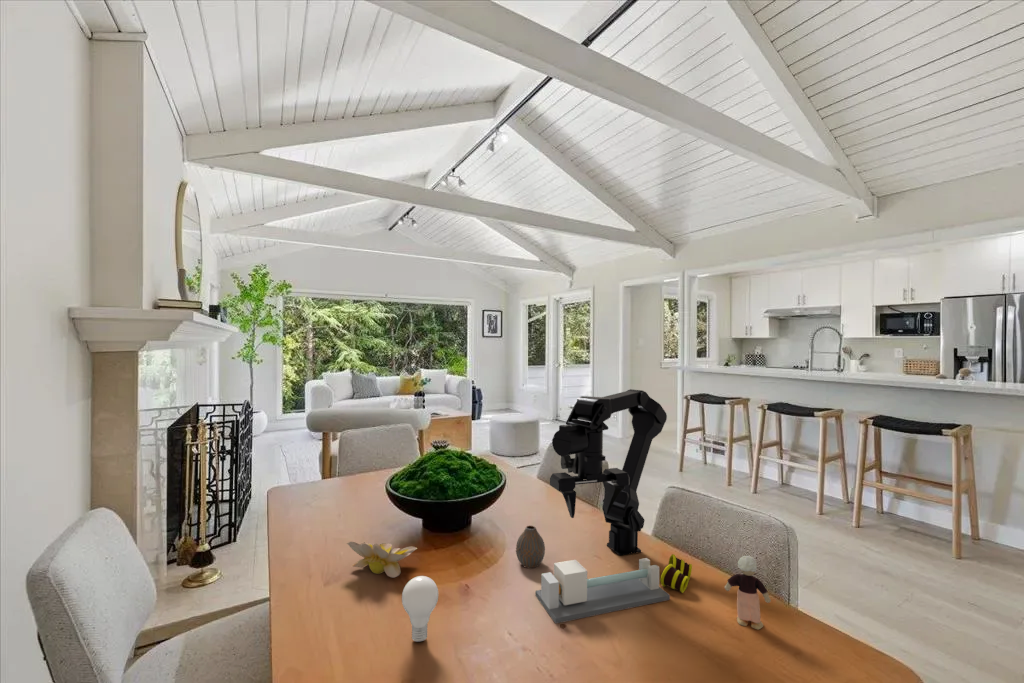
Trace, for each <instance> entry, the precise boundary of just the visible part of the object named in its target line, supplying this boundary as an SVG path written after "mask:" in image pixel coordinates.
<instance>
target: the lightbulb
mask: <svg viewBox="0 0 1024 683" xmlns="http://www.w3.org/2000/svg"><path fill="white" fill-rule="evenodd" d="M438 600H439V588H438V585H437V584H436V582H435V581H434V580H433V579H432V578H431V577H428V576H426V575H417V576H415V577H413V578H412V579H410V580H408V582H407V583H406V584H405V586H404V587H403V590H402V594H401V604H402V607H403V609H404V610H405V612H406V613H407V615H408V617H409V620H410V625H411V639H412V641H414V642H416V643H421V642H423V641H426V639H427V637H428V623H429V621H430V617H431V613H432V612H434V611H433V610H434V609H435V608H436V606H437V603H438Z"/></svg>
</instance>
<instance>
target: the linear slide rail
mask: <svg viewBox="0 0 1024 683" xmlns="http://www.w3.org/2000/svg"><path fill="white" fill-rule="evenodd" d="M540 580H541V585H540V586H541V588H540V589H538V590H535V597H536V598H537V600H538V602H540V604H541V606H542V607H543V608H544V609H545V611H546V612H547V614H548V615H549V617H550V618H551V620H552V621H553V622H554V624H560V622H561V623H564V622H565V623H566V622H569V621H574V620H581V619H584V618H590V617H593V616H599V615H603V614H604V615H605V614H608V613H613V612H618V611H622V610H628V609H631V608H632V609H633V608H636V607H641V606H646V605H650V604H651V605H653V604H656V603H661V602H665V601H670V600H671V599H670V598H671V594H669V593H668V592H667V591H665V590H664V589H663V588H662V587H660V566H659V565H657V564H653V565H651V560H650V559H649V558H648V557H645V558H639V559H638V570H631V571H626V572H624V571H623V572H619V573H615V574H614V573H613V574H609V575H603V576H597V577H591V578H587V601H585V602H580V603H574V604H569V605H563V603H562V602H561V601H560V600H559V594H561V593H562V585H561V584H559V582H558V580H557V579H556V578H555V577H554V574H553V573H552V572H550V571H549V572H544V573H541V579H540Z"/></svg>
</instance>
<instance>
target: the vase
mask: <svg viewBox="0 0 1024 683" xmlns="http://www.w3.org/2000/svg"><path fill="white" fill-rule="evenodd" d="M524 528H525V529H524V530H523V532H522V533H521V534H520V535H519V536H518V539H517V541H516V545H515V546H516V547H515V549H516V550H515V553H516V557H517V561H518V562H519V563H520V564H521V566H523V567H525V568H527V569H534V568H537V567H538V566H539V565H541V563H542V562H543V560H544V557H545V553H546V546H545V542H544V539H543V537H542V535H541V534H540V533H539V531H538V529H537V528H536V525H535V526H534V525H527V526H526V527H524Z"/></svg>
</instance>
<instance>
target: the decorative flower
mask: <svg viewBox="0 0 1024 683" xmlns="http://www.w3.org/2000/svg"><path fill="white" fill-rule="evenodd" d="M346 544H347V545H348V546H349V548H350V549H351V550H352V551H353V552H355V553H356V554H358V556H361V557H363V558H362V559H359V560H358V561H356V562H355V563H353V564H352V565H351V567H353V568H354V567H355V568H361V569H362V568H364V567H367V566H368V568H369V569H370V571H371V572H372V573H373V574H376V575H377V574H378V575H380V574H382V573H384V572H385V574H386V576H387V577H390V578H396V577H399V576H400V574H401V573H402V572H401V566H400V564H399V562H400V561H401V560H404V558H407V557H408V556H410V555H411V554H412V553H413V552H414V551H416V550H417V549H418V548H417V547H415V546H414V545H413V546H406V547H404V548H400V547H394V548H393V545H392V543H380V544H378V543H374V544H373V543H369V542H368V543H367V542H363V543H358V542H356V541H349V542H347V543H346Z"/></svg>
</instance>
